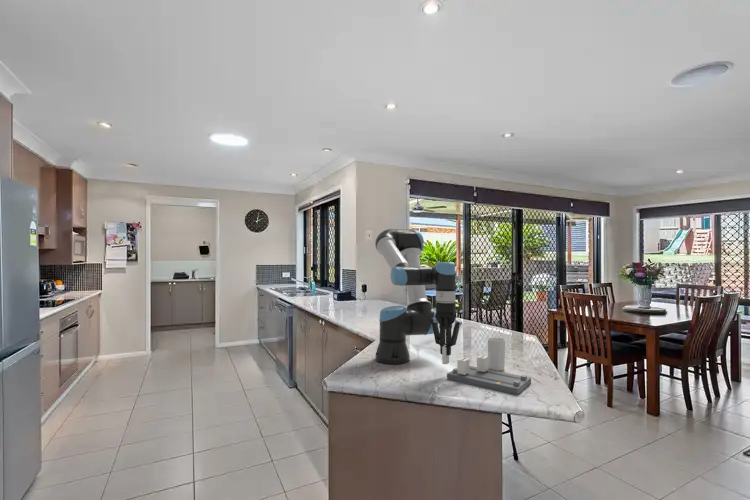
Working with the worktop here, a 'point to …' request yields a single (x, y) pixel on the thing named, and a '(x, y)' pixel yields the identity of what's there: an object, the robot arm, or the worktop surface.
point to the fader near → (463, 366)
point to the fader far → (482, 363)
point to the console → (492, 380)
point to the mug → (496, 354)
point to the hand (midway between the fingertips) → (445, 363)
